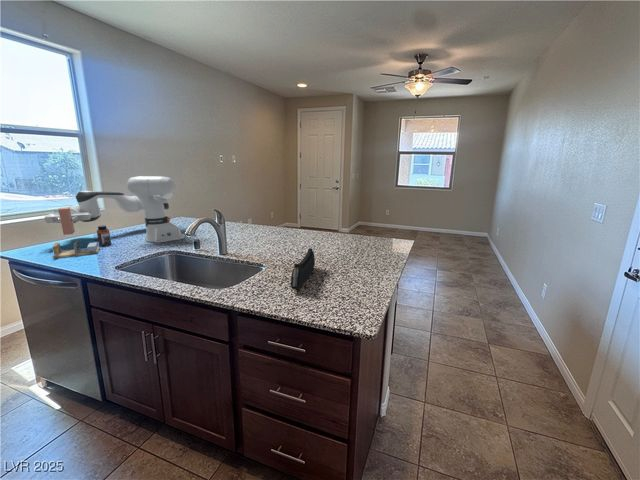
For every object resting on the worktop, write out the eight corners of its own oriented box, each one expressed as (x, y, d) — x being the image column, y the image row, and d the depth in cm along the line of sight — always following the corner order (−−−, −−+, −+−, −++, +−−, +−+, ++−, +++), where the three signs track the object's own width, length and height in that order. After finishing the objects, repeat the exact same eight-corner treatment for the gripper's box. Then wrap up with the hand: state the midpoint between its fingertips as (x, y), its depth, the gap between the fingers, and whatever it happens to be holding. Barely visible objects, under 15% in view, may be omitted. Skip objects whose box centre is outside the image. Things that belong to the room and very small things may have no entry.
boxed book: (74, 231, 176) (69, 207, 172) (73, 233, 171) (67, 208, 167) (65, 232, 174) (60, 207, 170) (63, 234, 169) (58, 209, 165)
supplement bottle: (97, 244, 183) (94, 225, 180) (109, 242, 187) (106, 224, 184) (100, 246, 179) (97, 227, 176) (112, 244, 183) (109, 225, 180)
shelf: (99, 248, 175) (97, 238, 173) (97, 253, 166) (95, 242, 165) (57, 253, 166) (55, 242, 164) (53, 258, 158) (50, 246, 156)
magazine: (309, 248, 150) (292, 247, 121) (315, 248, 149) (301, 248, 120) (307, 283, 150) (289, 291, 120) (313, 284, 149) (298, 292, 120)
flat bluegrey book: (98, 247, 174) (97, 242, 173) (96, 251, 167) (95, 246, 166) (90, 247, 172) (89, 243, 171) (88, 252, 165) (87, 246, 164)
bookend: (89, 248, 171) (87, 239, 169) (87, 252, 164) (85, 243, 163) (77, 249, 168) (75, 240, 167) (75, 253, 162) (73, 244, 160)
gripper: (93, 219, 187) (90, 223, 175) (49, 222, 177) (43, 227, 166) (91, 209, 185) (88, 212, 174) (47, 211, 175) (40, 216, 164)
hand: (66, 220), depth 170 cm, fingers closed on boxed book, 4 cm apart
